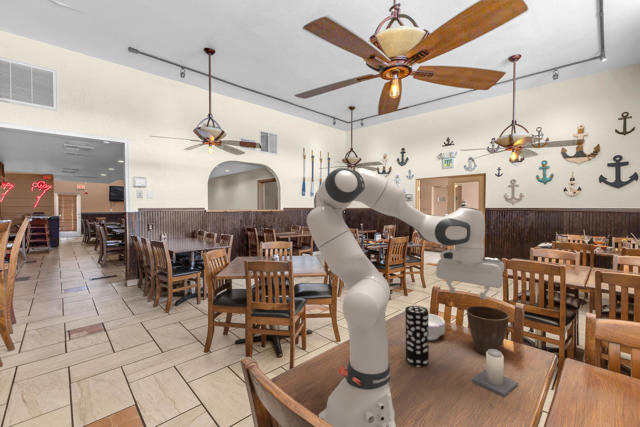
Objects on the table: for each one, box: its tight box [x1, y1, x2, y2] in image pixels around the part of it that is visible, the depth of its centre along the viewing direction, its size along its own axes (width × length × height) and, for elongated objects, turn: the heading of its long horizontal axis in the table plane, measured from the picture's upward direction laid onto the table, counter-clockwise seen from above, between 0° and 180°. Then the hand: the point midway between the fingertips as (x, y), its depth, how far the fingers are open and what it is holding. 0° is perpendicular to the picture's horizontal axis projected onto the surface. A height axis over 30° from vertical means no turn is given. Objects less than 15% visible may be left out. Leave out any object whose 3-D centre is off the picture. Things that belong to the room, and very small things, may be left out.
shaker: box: [485, 349, 505, 385], centre depth 97 cm, size 5×5×10 cm
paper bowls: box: [428, 312, 446, 341], centre depth 134 cm, size 15×15×8 cm
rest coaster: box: [471, 369, 519, 398], centre depth 98 cm, size 10×10×1 cm
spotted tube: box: [404, 305, 430, 368], centre depth 112 cm, size 8×8×20 cm
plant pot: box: [465, 305, 510, 356], centre depth 119 cm, size 15×15×16 cm
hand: (467, 295), depth 100 cm, fingers open, 8 cm apart
